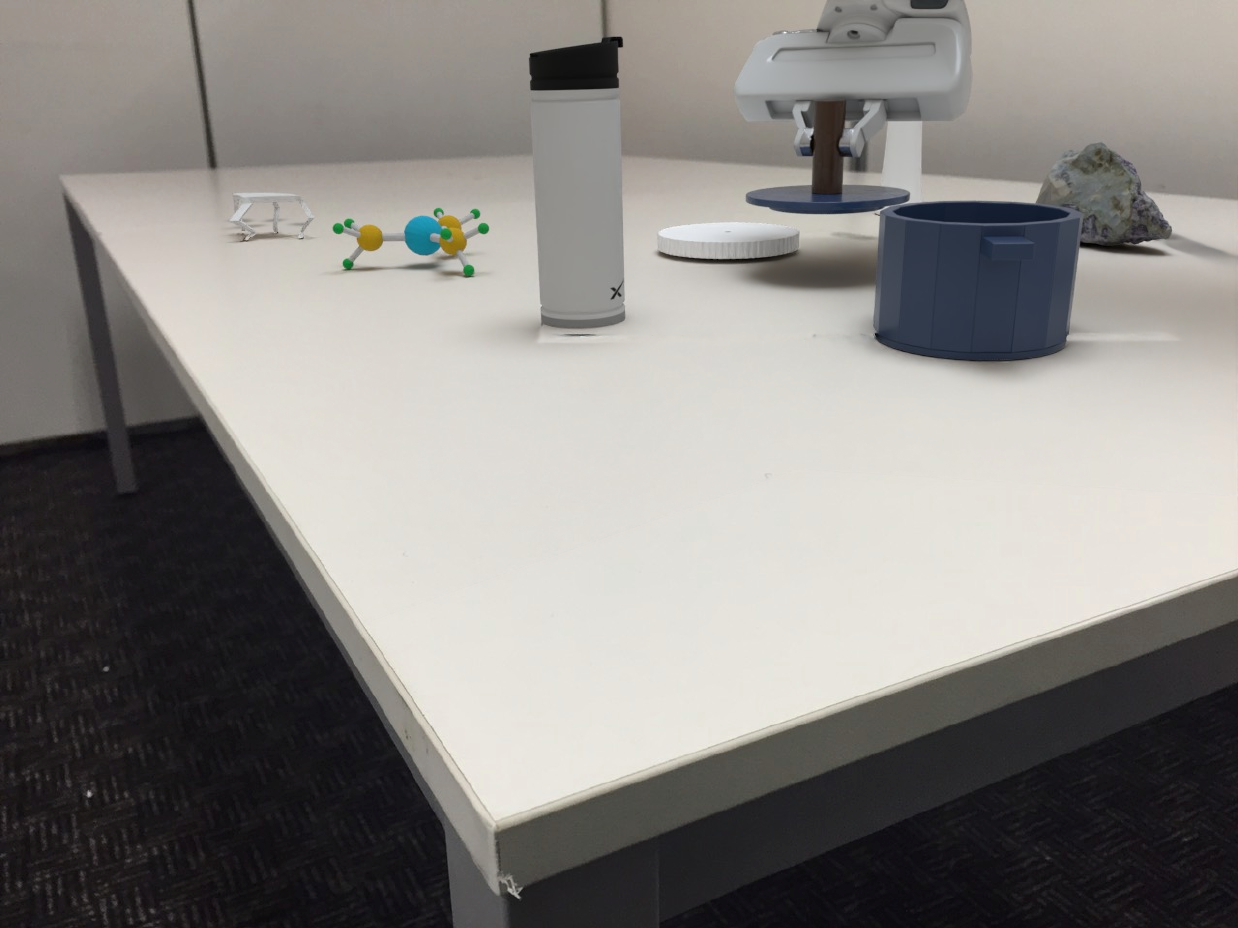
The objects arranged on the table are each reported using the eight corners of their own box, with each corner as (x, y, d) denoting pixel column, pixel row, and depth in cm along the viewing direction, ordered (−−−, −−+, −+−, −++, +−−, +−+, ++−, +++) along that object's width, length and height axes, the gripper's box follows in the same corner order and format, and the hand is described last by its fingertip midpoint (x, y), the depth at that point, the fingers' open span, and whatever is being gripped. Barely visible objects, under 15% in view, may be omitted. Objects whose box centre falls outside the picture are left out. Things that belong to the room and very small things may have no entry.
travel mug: (642, 329, 78) (637, 35, 71) (556, 339, 76) (543, 36, 69) (611, 313, 84) (604, 38, 77) (530, 322, 81) (515, 39, 75)
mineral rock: (1174, 255, 102) (1192, 146, 99) (1059, 256, 103) (1072, 148, 99) (1124, 235, 114) (1137, 137, 111) (1021, 237, 115) (1031, 139, 112)
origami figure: (208, 242, 125) (202, 199, 123) (241, 232, 133) (235, 191, 131) (306, 242, 124) (301, 198, 122) (333, 232, 131) (329, 190, 130)
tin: (1025, 309, 82) (1038, 195, 79) (1107, 371, 65) (1127, 230, 62) (858, 310, 83) (864, 197, 80) (896, 372, 66) (905, 232, 63)
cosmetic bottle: (934, 213, 134) (948, 24, 126) (898, 218, 131) (910, 24, 124) (899, 209, 139) (911, 26, 131) (864, 213, 136) (874, 26, 128)
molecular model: (322, 268, 106) (395, 289, 95) (316, 218, 105) (389, 232, 94) (463, 249, 116) (544, 265, 105) (460, 203, 114) (542, 214, 103)
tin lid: (895, 196, 98) (901, 96, 95) (923, 215, 85) (930, 100, 82) (743, 199, 99) (744, 100, 96) (747, 219, 86) (749, 105, 83)
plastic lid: (644, 268, 102) (643, 241, 101) (672, 245, 115) (672, 221, 114) (792, 271, 99) (792, 243, 98) (804, 247, 112) (805, 222, 111)
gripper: (751, 7, 97) (702, 126, 92) (982, -8, 87) (941, 125, 82) (769, 59, 102) (724, 174, 97) (990, 51, 92) (952, 179, 87)
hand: (826, 152), depth 90 cm, fingers closed on tin lid, 2 cm apart
